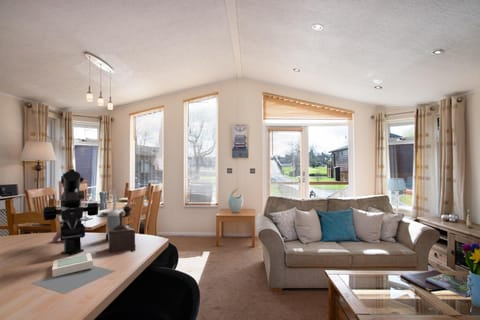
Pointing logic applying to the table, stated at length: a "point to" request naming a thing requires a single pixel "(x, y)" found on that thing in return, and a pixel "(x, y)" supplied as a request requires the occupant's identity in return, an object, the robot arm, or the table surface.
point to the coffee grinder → (122, 235)
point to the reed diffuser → (113, 217)
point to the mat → (73, 279)
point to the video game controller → (57, 236)
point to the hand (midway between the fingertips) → (72, 228)
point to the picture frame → (72, 264)
